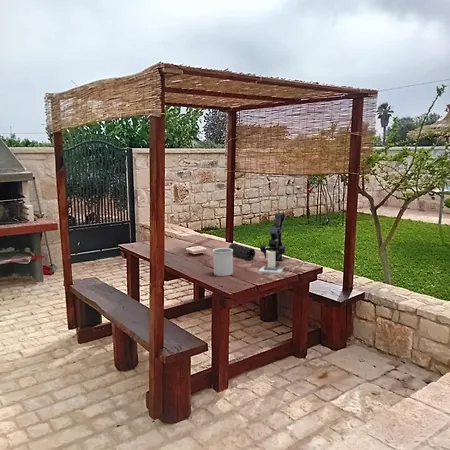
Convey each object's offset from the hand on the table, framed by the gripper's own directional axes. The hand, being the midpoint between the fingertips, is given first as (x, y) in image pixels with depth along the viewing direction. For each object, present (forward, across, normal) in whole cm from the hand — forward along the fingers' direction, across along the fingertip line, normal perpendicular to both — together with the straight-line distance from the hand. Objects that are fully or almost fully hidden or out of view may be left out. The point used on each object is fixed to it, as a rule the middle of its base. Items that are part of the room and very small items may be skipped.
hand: (271, 258), depth 318 cm
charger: (+5, 0, +6) cm, 8 cm away
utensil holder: (+19, -32, -6) cm, 38 cm away
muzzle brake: (-19, -32, +33) cm, 50 cm away
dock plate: (+6, 0, +7) cm, 9 cm away
